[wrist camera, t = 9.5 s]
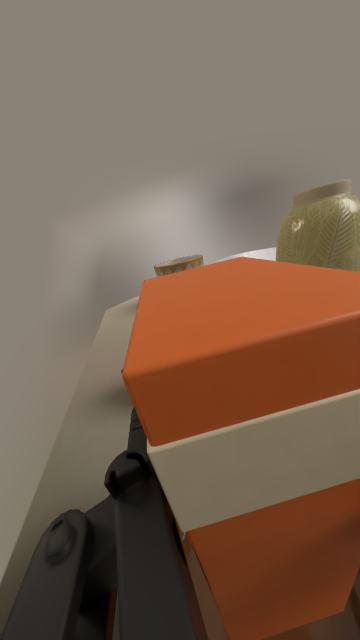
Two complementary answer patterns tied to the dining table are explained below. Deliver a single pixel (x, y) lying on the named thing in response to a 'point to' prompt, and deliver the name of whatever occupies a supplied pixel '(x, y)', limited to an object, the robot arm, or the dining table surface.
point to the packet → (256, 431)
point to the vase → (322, 228)
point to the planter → (178, 265)
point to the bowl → (319, 636)
